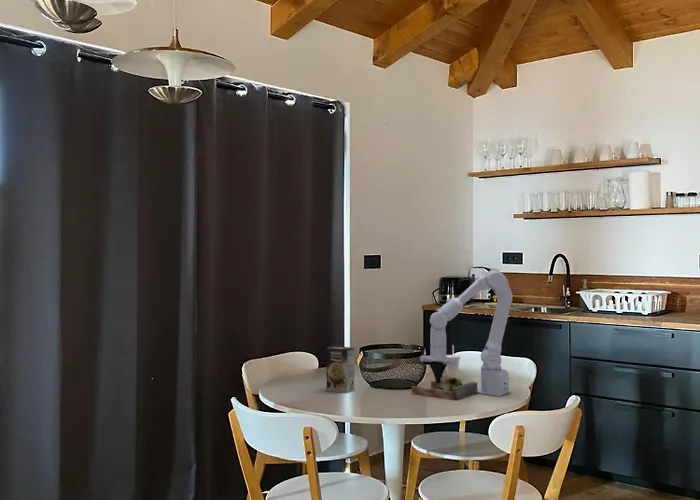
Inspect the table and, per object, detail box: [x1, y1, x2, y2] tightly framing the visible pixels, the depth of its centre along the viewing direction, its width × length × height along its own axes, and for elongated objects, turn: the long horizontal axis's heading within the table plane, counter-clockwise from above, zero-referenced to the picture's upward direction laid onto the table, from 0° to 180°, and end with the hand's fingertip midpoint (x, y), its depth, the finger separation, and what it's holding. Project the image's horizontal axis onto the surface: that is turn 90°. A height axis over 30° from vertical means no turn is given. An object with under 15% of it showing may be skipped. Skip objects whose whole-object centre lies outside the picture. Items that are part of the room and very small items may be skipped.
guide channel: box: [411, 380, 478, 401], centre depth 247 cm, size 19×14×4 cm
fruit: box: [438, 374, 464, 391], centre depth 247 cm, size 9×9×8 cm
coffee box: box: [325, 345, 356, 394], centre depth 255 cm, size 9×6×16 cm
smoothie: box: [445, 344, 461, 379], centre depth 272 cm, size 6×6×14 cm
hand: (438, 383), depth 248 cm, fingers closed, pressing on fruit
